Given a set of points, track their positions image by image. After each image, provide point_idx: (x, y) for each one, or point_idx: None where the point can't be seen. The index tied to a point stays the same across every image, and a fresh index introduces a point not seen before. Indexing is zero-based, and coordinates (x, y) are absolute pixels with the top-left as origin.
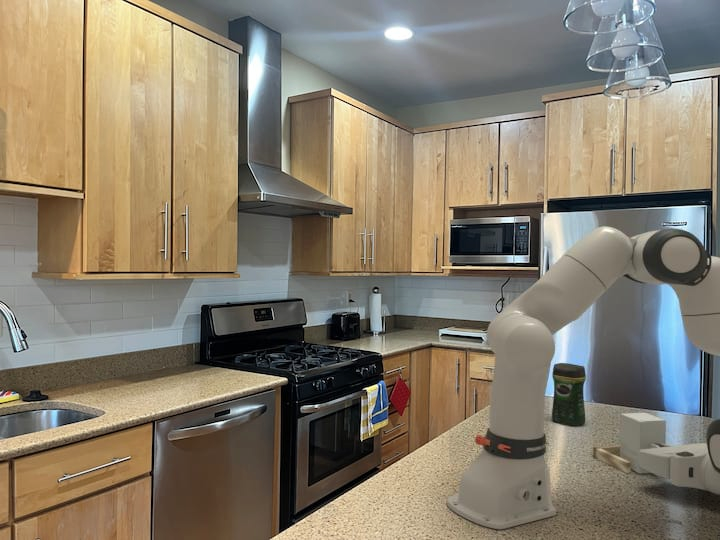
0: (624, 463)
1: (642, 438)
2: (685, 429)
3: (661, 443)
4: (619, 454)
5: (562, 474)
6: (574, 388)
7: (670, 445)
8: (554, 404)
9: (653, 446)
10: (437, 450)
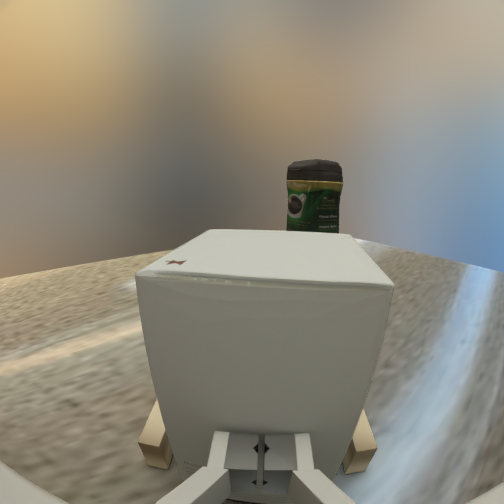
0: (143, 437)
1: (167, 386)
2: (495, 295)
3: (299, 445)
4: None
5: (10, 378)
6: (310, 201)
7: (329, 489)
8: None
9: (211, 456)
10: (20, 280)
